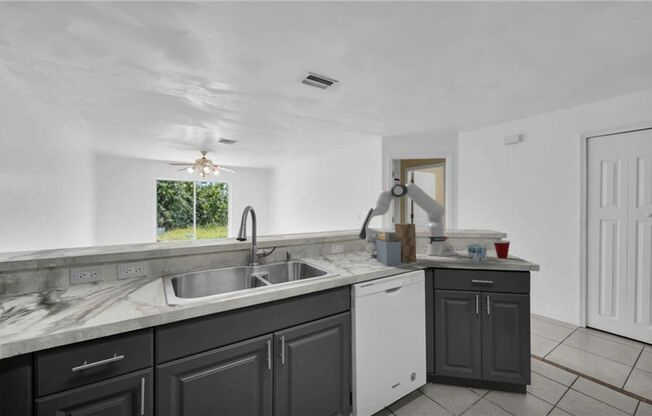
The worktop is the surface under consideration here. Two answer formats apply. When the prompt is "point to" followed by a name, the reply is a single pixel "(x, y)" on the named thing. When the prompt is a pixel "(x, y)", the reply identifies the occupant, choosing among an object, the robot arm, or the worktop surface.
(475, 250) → the light bulb box
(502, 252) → the plastic cup
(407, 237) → the walnut post
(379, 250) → the slate ledge
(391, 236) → the ochre bar
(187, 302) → the worktop surface
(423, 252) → the worktop surface
